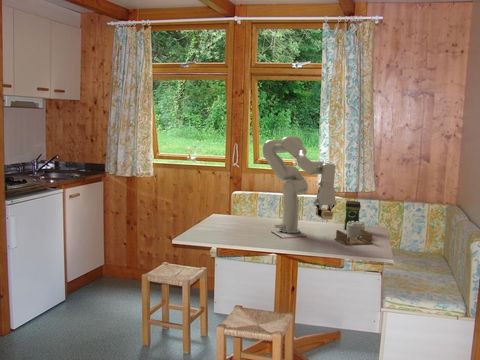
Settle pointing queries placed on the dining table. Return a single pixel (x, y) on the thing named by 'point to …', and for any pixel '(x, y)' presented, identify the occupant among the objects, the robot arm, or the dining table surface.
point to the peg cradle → (360, 240)
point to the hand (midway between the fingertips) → (323, 215)
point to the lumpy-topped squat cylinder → (354, 228)
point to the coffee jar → (352, 212)
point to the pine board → (325, 213)
